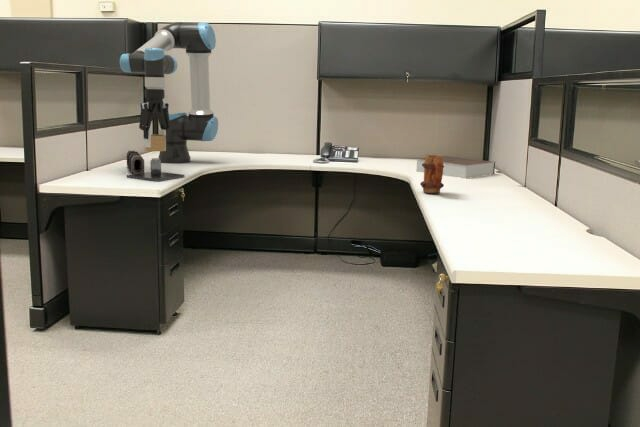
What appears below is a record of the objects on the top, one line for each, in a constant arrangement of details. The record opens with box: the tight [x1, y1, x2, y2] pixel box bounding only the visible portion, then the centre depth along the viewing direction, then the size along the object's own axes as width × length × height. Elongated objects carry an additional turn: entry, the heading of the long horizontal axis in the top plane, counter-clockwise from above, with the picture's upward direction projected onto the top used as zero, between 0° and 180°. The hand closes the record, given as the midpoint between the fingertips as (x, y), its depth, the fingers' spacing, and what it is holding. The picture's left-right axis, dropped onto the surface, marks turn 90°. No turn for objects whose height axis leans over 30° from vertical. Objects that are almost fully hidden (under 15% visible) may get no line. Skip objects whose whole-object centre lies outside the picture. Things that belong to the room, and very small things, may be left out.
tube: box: [126, 150, 145, 174], centre depth 279 cm, size 11×7×30 cm
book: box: [415, 155, 496, 179], centre depth 308 cm, size 24×28×6 cm
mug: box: [420, 154, 445, 194], centre depth 244 cm, size 15×8×15 cm, turn 5°
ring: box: [144, 133, 166, 152], centre depth 260 cm, size 8×8×6 cm
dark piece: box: [126, 157, 186, 183], centre depth 262 cm, size 16×16×8 cm
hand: (155, 146), depth 260 cm, fingers closed on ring, 8 cm apart
